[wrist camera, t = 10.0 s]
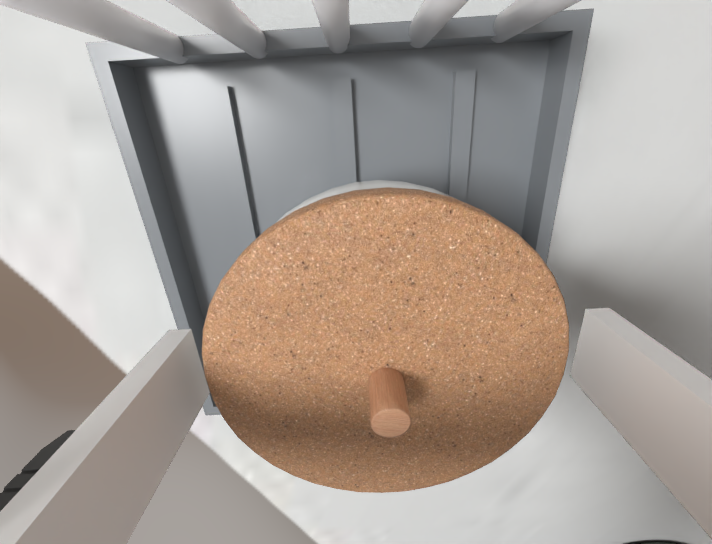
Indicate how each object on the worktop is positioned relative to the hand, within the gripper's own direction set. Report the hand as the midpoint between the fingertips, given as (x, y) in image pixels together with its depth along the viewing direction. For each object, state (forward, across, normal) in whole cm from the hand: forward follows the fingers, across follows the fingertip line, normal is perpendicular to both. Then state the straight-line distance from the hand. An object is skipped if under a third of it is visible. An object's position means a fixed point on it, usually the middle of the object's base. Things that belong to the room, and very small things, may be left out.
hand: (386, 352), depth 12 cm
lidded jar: (+6, 0, 0) cm, 6 cm away
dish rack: (+7, +1, -2) cm, 8 cm away
